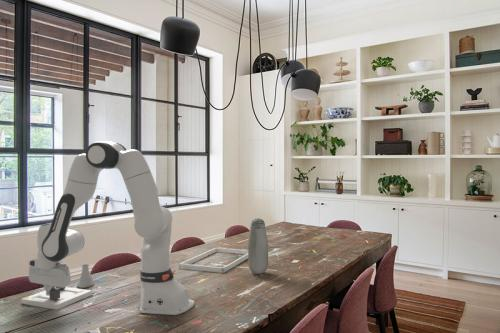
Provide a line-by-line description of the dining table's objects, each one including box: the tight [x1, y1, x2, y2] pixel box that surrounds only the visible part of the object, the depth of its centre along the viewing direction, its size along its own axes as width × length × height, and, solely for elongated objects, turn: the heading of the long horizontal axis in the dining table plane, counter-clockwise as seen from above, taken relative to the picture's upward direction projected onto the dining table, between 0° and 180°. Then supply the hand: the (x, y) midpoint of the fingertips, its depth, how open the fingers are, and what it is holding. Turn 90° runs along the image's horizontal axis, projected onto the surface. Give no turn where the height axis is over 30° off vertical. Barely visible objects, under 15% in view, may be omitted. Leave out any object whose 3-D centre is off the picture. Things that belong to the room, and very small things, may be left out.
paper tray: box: [178, 247, 248, 274], centre depth 221 cm, size 27×42×2 cm, turn 157°
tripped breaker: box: [49, 288, 60, 300], centre depth 156 cm, size 2×3×4 cm
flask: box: [77, 263, 95, 289], centre depth 180 cm, size 7×7×10 cm
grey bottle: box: [247, 217, 269, 275], centre depth 194 cm, size 10×10×28 cm
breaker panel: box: [21, 286, 93, 311], centre depth 162 cm, size 20×18×2 cm
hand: (49, 295), depth 157 cm, fingers closed
